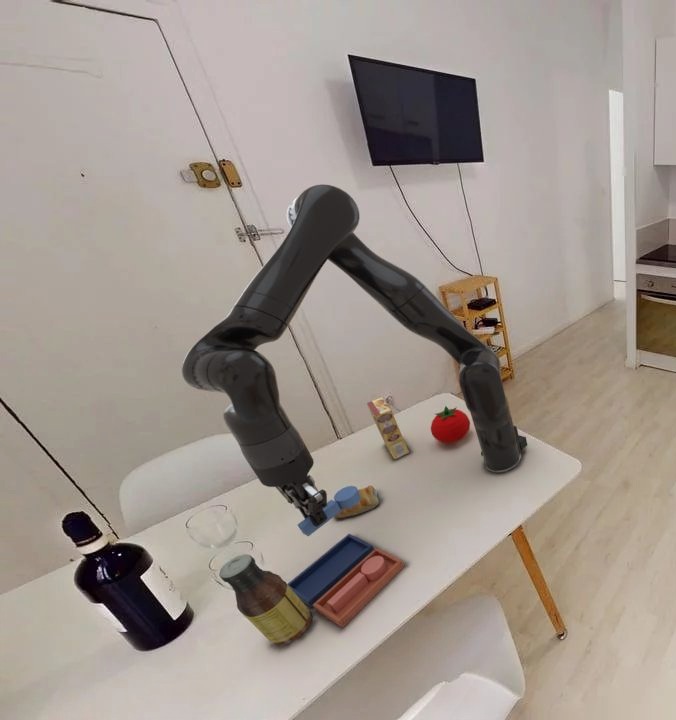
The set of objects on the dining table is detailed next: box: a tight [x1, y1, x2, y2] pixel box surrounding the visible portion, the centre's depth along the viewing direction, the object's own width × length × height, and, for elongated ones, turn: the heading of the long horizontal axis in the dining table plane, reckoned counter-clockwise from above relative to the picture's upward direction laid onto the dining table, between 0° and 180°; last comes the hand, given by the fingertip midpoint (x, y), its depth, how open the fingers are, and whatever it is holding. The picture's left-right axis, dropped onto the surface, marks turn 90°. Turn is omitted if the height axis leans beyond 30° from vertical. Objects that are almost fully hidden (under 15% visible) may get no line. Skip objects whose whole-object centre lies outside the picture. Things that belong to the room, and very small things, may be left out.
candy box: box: [366, 397, 410, 460], centre depth 113 cm, size 9×4×15 cm, turn 44°
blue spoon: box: [297, 485, 361, 537], centre depth 80 cm, size 11×4×3 cm, turn 156°
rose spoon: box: [327, 556, 387, 613], centre depth 80 cm, size 11×4×3 cm, turn 156°
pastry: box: [334, 485, 379, 519], centre depth 98 cm, size 9×7×4 cm
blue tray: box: [287, 533, 375, 609], centre depth 84 cm, size 13×8×2 cm, turn 156°
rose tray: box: [313, 547, 405, 629], centre depth 81 cm, size 13×8×2 cm, turn 156°
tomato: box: [430, 405, 471, 444], centre depth 118 cm, size 10×10×10 cm
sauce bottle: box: [218, 553, 313, 646], centre depth 70 cm, size 6×6×20 cm
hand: (317, 520), depth 78 cm, fingers closed on blue spoon, 1 cm apart
